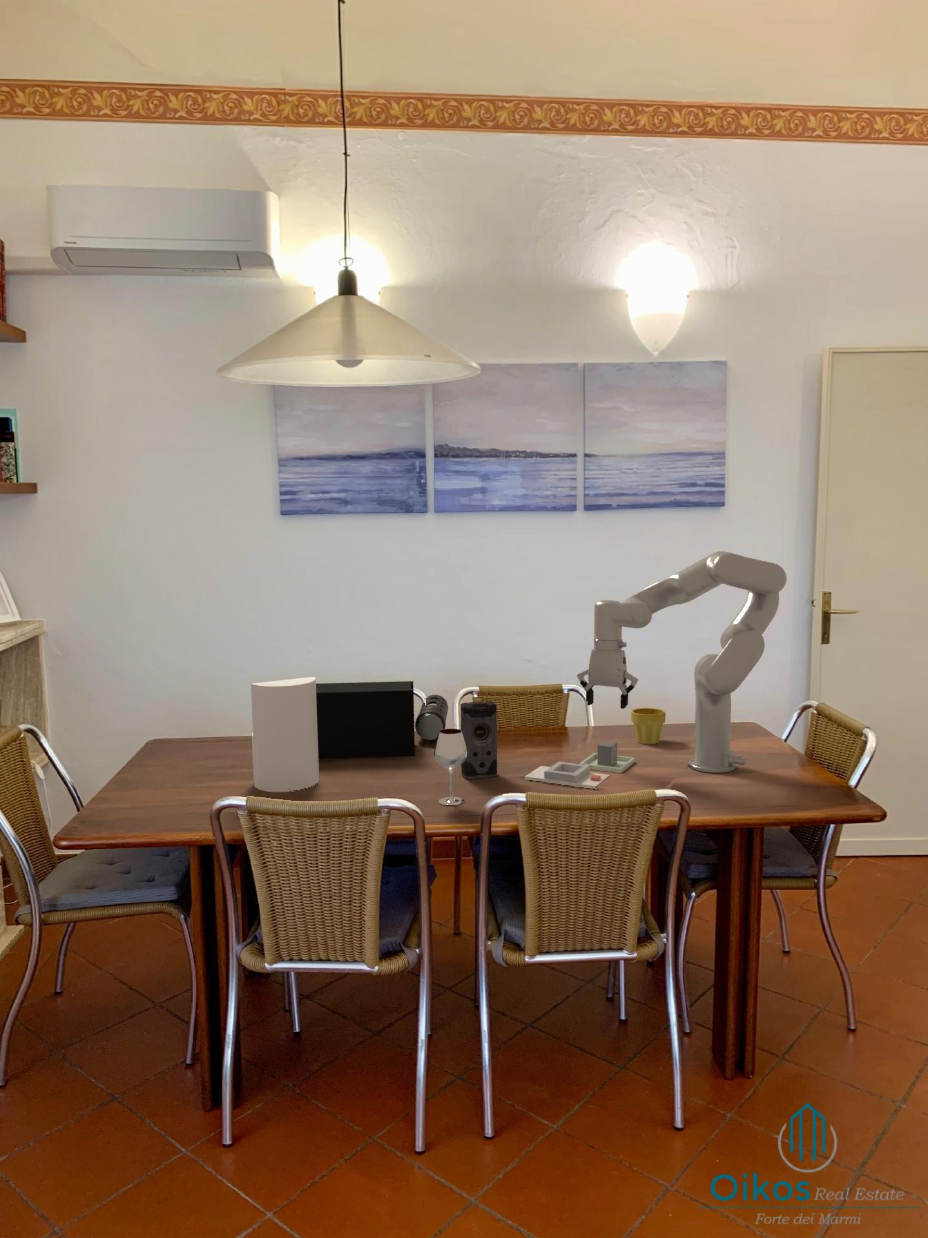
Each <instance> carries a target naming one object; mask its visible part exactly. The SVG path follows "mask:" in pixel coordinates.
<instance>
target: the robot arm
mask: <svg viewBox="0 0 928 1238" xmlns="http://www.w3.org/2000/svg"><path fill="white" fill-rule="evenodd" d="M786 584H787V573H786V571H785V569H784V568H783V567H782V566H781V565H779V564H778V563H775V562H770V561H767V560H761V559H757V558H752V557H747V556H744V555H740V554H737V553H734V552H733V553H732V552H729V551H724V550H721V551H716V552H713V553H710V554H709V555H707V556H705V557H704V558H702V559H700V560H698V561H696V562H695V563H693V564H691V565H689V566H687V567H685V568H683V569H682V570H679V571H678V572H676V573H675V574H672V575H670V576H668V577H666V578H664V579H662V580H660V581H658V582H656V583H653V584H651V585H649V586H647V587H645V588H643V589H641V590H640V591H638V592H637V593H634V594H632V595H631V596H629V597H627V598H626V599H625V600H623V601H622V602H621V601H619V600H611V599H609V600H608V599H604V600H603V599H601V600H598V601H596V602H595V604H594V614H593V617H594V621H593V627H594V628H593V648H592V649H591V653H590V657H589V661H588V669H587V670H584V671H581V672H579V673H578V674H576V677H577V679H578V681H579V683H580V686H581V687H582V688H583V689H584V691H585V701H586V704H587V705H586V706H591V705H593V704H594V696H595V695H594V694H595V693H594V692H595V691H594V689H593V688H594V686H597V687H598V686H599V687H607V688H608V687H609V688H610V687H611V688H618V689H619V690H620V692H621V694H620V709H621V710H624V709H625V708H627V706H628V705H629V694H630V693H631V692H632V691H633V690H634V689H635V687H636V685H637V683H638V682H639V678H637V677H636V676H634V675H632V674H631V673H629V672H628V667H627V666H628V665H627V657H626V651H625V650H624V649H623V648H627V642H625V641H623V633H622V632H623V627H624V628H629V629H630V628H631V629H642V628H645V627H647V626H648V625H649V624H650V623H651V621H652V618H653V615H654V614H655V613H657V612H658V611H661V610H663V609H666V608H669V607H672V606H675V605H676V606H677V605H683V604H686V603H689V602H692V601H693V600H695V599H698V598H699V597H701V596H703V595H705V594H706V593H708V592H710V591H711V590H713V589H715V588H717V587H719V586H721V585H726V586H729V587H733V588H738V589H741V590H745V591H747V597H746V599H745V602H744V604H743V605H742V607H741V609H740V610H739V611H738V613H737V614H736V615H735V616H734V618H733V619H732V621H731V622H730V624H729V625H728V626H727V627H726V628H725V629H724V631H723V632H722V634H721V636H720V639H719V644H720V647H721V650H720V653H718V654H714V653H712V654H711V653H710V654H705V655H703V656H702V657H701V658H699V660H698V661H697V662H696V664H695V666H694V672H693V677H694V691H695V693H694V694H695V712H694V714H695V715H694V718H695V719H694V757H693V758H691V759H689V761H688V767H690V768H691V769H693V770H695V771H698V772H699V771H700V772H703V773H713V774H717V773H719V774H721V773H723V774H724V773H729V772H732V771H734V770H735V769H736V765H739V766H746V763H747V759H746V758H745V757H743V756H737V755H735V754H734V752H733V750H732V749H731V724H732V723H731V720H732V719H731V718H732V694H733V693H734V692H736V690H737V689H738V688H739V687H740V686H741V685H742V683H743V682H744V681H745V680H746V679H747V677H748V675H749V674H750V673H751V672H752V670H754V668H755V667H756V665H757V664H758V663H759V662H760V660H761V658H762V656H763V654H764V651H765V639H764V636H763V634H764V633H765V631H766V630H767V629H768V627H769V626H770V624H771V622H772V621H773V619H774V618H775V616H776V614H777V611H778V610H779V609H778V608H779V605H780V602H779V601H780V592H782V590H783V589H784V588H785V586H786ZM585 676H587V680H588V681H587V680H586V679H585ZM628 680H629V681H630V684H629V685H628V686H627V683H628Z"/></svg>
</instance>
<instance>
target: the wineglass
mask: <svg viewBox="0 0 928 1238" xmlns="http://www.w3.org/2000/svg"><path fill="white" fill-rule="evenodd" d="M435 741H436V743H435V746H434V750H433V751H434V752H433V753H434V754H433V755H434V758H435V760H436V762H437V763H438V765H440V766H441V767H442V768H444V769H445V771H447V772H448V775H449V796H446V797H442V798H439V800H438V803H439V804H440V805H443V806H446V805H455V806H459V805H462V804H463V803H465V800H464V798H463V797H462V798H461V797H459V796H454V780H453V779H454V778H453V777H454V773H455V771H456V770H458V768H460V767H461V765H462V764H463V763H464V761H465V760H466V757H467V748H466V744H465V740H464V736H463V733H462V730H461V728H460V729H458V728H445V729H442V730H440V731H439V733H438V737H437V739H436V740H435ZM461 803H462V804H461Z"/></svg>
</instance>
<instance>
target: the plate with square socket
mask: <svg viewBox="0 0 928 1238" xmlns="http://www.w3.org/2000/svg"><path fill="white" fill-rule="evenodd" d="M609 777H611V774H606V773H605V774H604V773H599V772H591V769H590V765H581V764H579V763H573V762H564V761H558V762H556V763H555V764H553V765H551V766H547V765H546V766H545V765H540V766H538V767H537V768H536V769H534V770H532V771H531V772H530V773H528V774H526V775H525V776H524V780H525V779H527V780H526V781H529V780H533V781H532V782H536V781H543V782H547V783H546V784H550V783H556V784H555V785H557V784H561V785H560V786H564V785H571V786H575V787H574V788H579V787H584V788H583V789H586V788H597V787H599V785H600V784H601V783H602V782H604V781H605V780H606V779H608V778H609ZM543 782H542V783H543ZM571 786H570V787H571ZM597 789H598V788H597Z"/></svg>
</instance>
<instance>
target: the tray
mask: <svg viewBox="0 0 928 1238" xmlns="http://www.w3.org/2000/svg"><path fill="white" fill-rule="evenodd" d="M635 761H636V759H635V757H631V756H622V755H617V764H616V765H614V766H613V767H608V766H600V765H598V752H593V753H592V754H590V755H589V756H588V757H586V758H585V759H584V760H582V761H581V762H579V763H578V764H581V765H590V770H591V771H592V770H593V771H602V772H609V773H617V774H622V773H623V772H624V771H625V770H627V769H628V768H629V767H631V766H633V764H635Z"/></svg>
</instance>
